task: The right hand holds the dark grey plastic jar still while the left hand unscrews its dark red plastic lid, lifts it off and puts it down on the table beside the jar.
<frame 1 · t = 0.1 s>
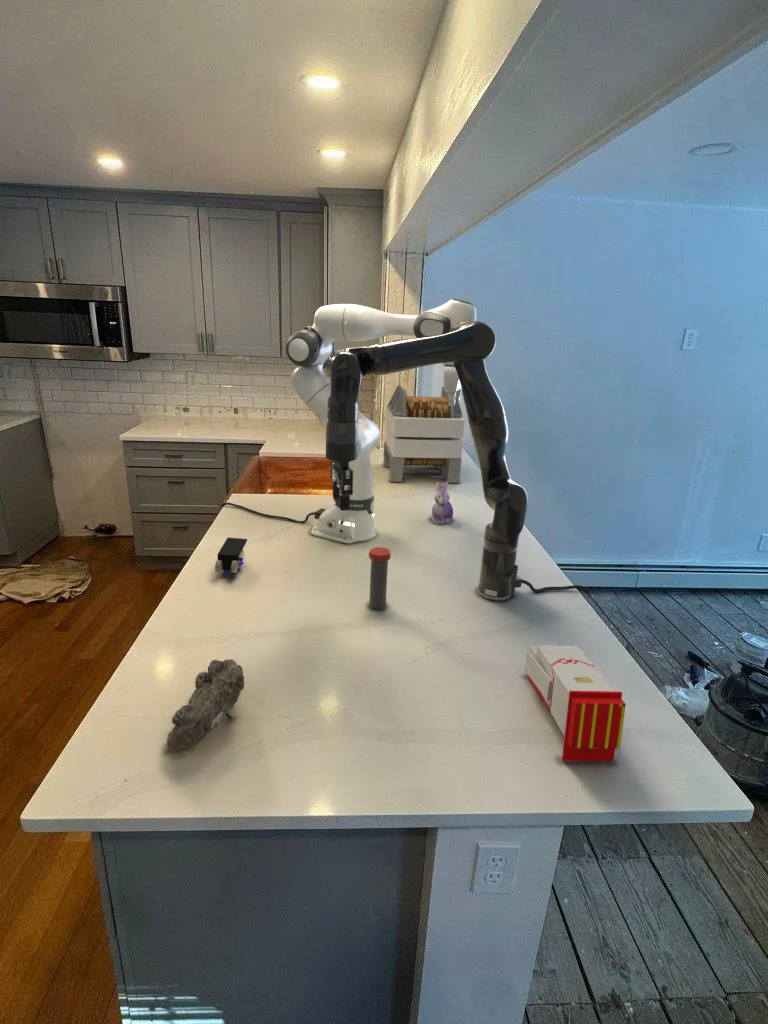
left hand: (454, 403, 174), 48 cm above the counter, tool pointing down, fingers open, 8 cm apart
right hand: (340, 504, 138), 29 cm above the counter, tool pointing down, fingers open, 8 cm apart
toy: (562, 711, 114), on the counter
jar: (377, 605, 151), on the counter
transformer: (419, 473, 275), on the counter
lid: (379, 552, 146), point 15 cm above the counter, screwed on, not yet turned
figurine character: (232, 569, 168), on the counter
figurine: (441, 520, 215), on the counter
fossil: (212, 717, 108), on the counter
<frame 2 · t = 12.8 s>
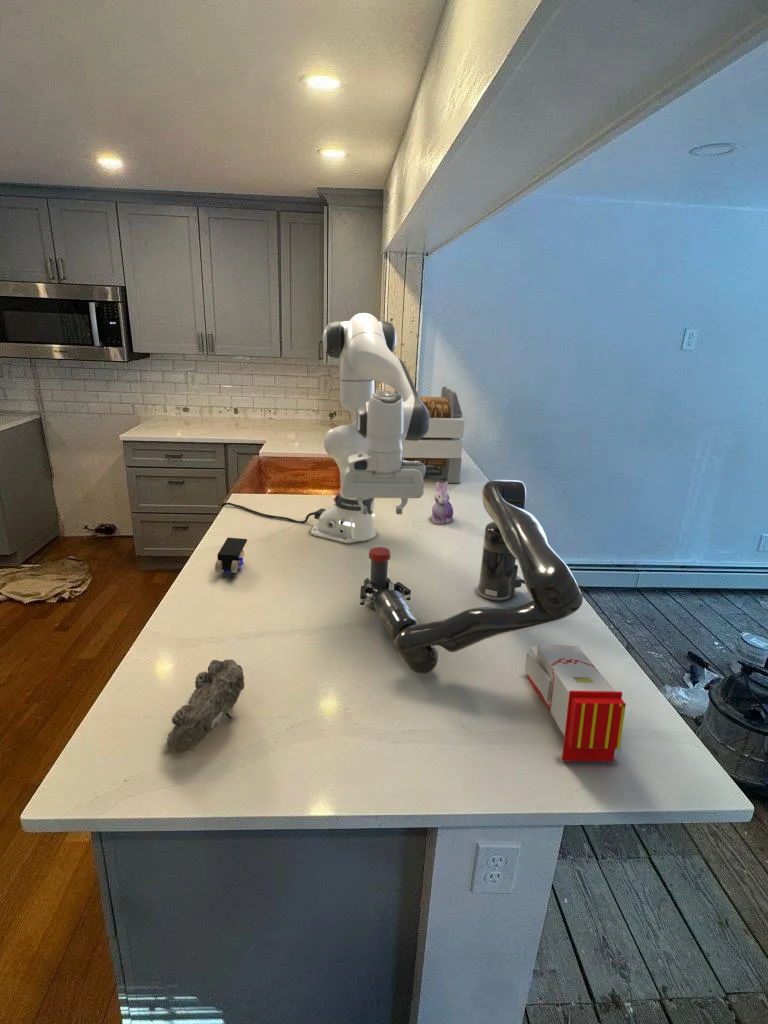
left hand: (381, 513, 142), 26 cm above the counter, tool pointing down, fingers open, 7 cm apart
right hand: (375, 580, 152), 6 cm above the counter, tool horizontal, fingers closed on jar, 4 cm apart
jar: (377, 605, 151), on the counter, touching right hand
everything else where it was.
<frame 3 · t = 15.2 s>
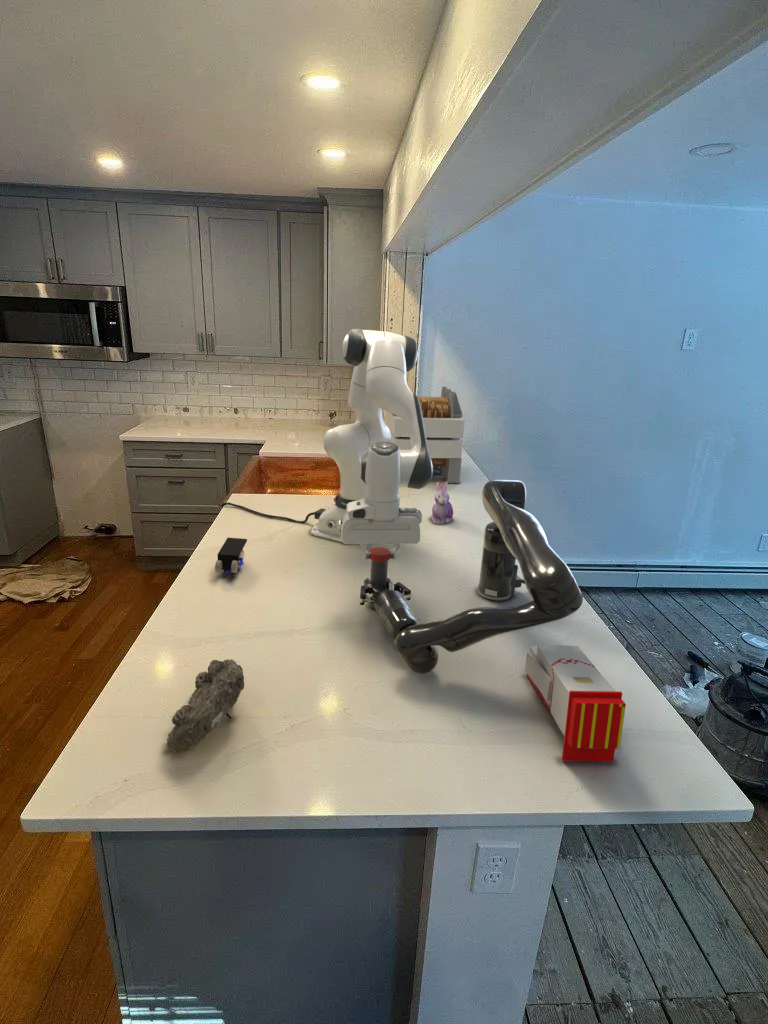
left hand: (379, 558, 147), 14 cm above the counter, tool pointing down, fingers closed on lid, 5 cm apart
right hand: (375, 580, 152), 6 cm above the counter, tool horizontal, fingers closed on jar, 4 cm apart
jar: (377, 605, 151), on the counter, touching right hand
lid: (379, 552, 146), point 15 cm above the counter, screwed on, not yet turned, touching left hand
everything else where it was.
when the left hand's fingers open (14 cm above the counter, at t = 16.4 s): lid stays where it is, point 16 cm above the counter.
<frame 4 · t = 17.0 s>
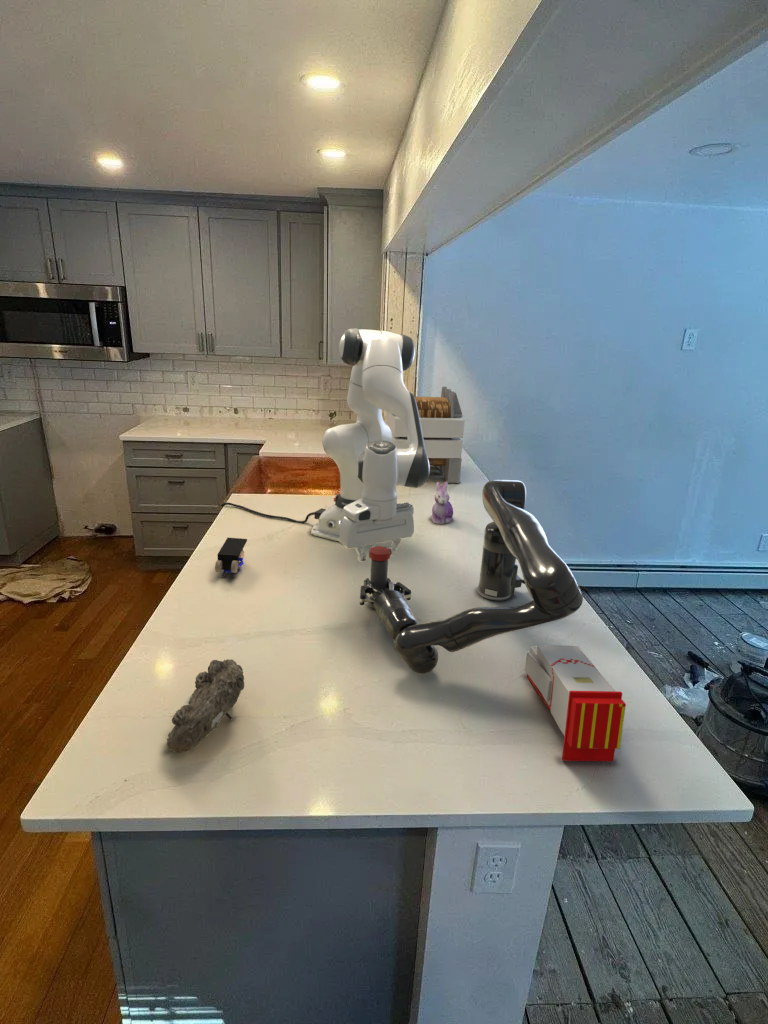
left hand: (376, 557, 146), 14 cm above the counter, tool pointing down, fingers open, 7 cm apart
right hand: (375, 580, 152), 6 cm above the counter, tool horizontal, fingers closed on jar, 4 cm apart
jar: (377, 605, 151), on the counter, touching right hand
lid: (379, 551, 146), point 16 cm above the counter, turned 75° so far, risen 0.3 cm, still on its thread
everything else where it was.
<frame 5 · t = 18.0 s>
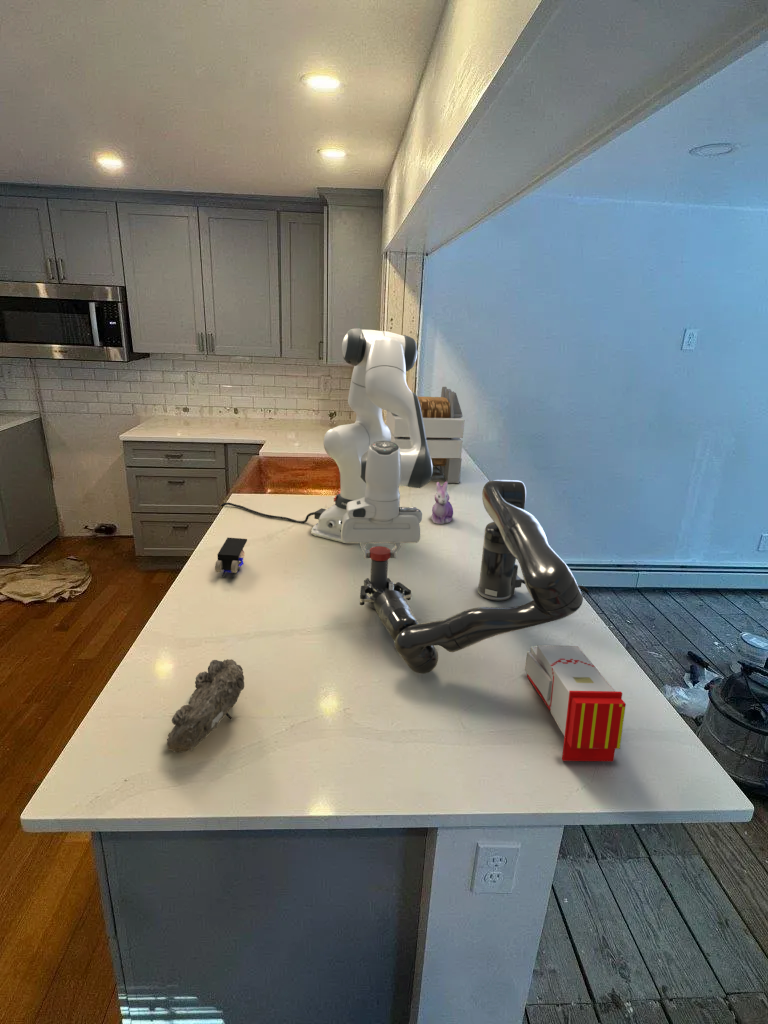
left hand: (379, 557, 146), 14 cm above the counter, tool pointing down, fingers closed on lid, 5 cm apart
right hand: (375, 580, 152), 6 cm above the counter, tool horizontal, fingers closed on jar, 4 cm apart
jar: (377, 605, 151), on the counter, touching right hand
lid: (379, 551, 146), point 16 cm above the counter, turned 75° so far, risen 0.3 cm, still on its thread, touching left hand
everything else where it was.
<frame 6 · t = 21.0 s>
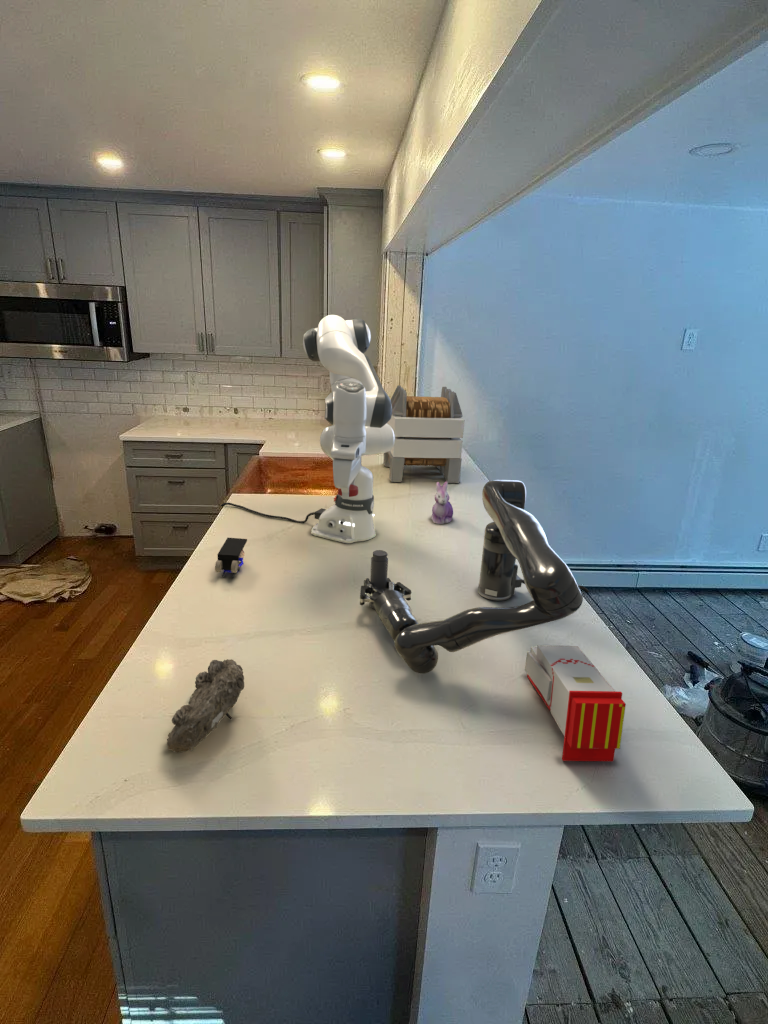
left hand: (348, 494, 155), 26 cm above the counter, tool pointing down, fingers closed on lid, 5 cm apart
right hand: (375, 580, 152), 6 cm above the counter, tool horizontal, fingers closed on jar, 4 cm apart
jar: (377, 605, 151), on the counter, touching right hand
lid: (348, 488, 155), point 28 cm above the counter, off its thread, touching left hand
everything else where it was.
when the left hand's fingers open (2 cm above the counter, at t = 24.3 s): lid drops 2 cm, point 1 cm above the counter.
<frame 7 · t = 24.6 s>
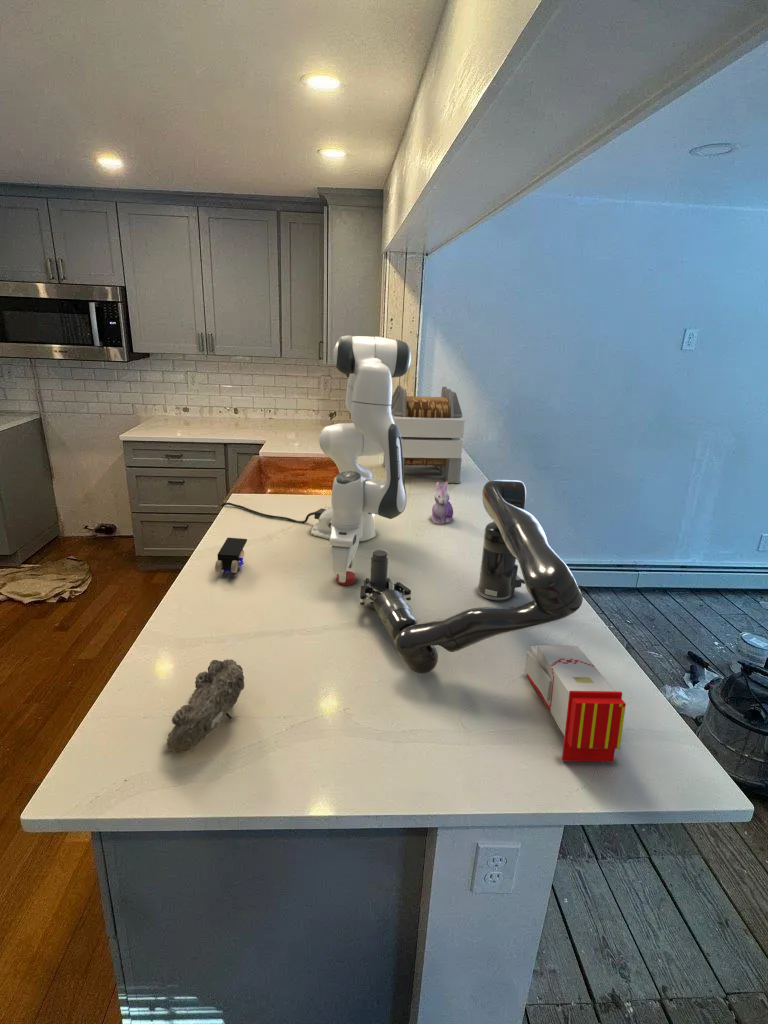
left hand: (345, 574, 163), 2 cm above the counter, tool pointing down, fingers open, 8 cm apart
right hand: (375, 580, 152), 6 cm above the counter, tool horizontal, fingers closed on jar, 4 cm apart
jar: (377, 605, 151), on the counter, touching right hand
lid: (346, 576, 164), point 1 cm above the counter, off its thread
everything else where it was.
when the right hand's fingers open (6 cm above the counter, at t = 25.3 s): jar stays where it is, on the counter.
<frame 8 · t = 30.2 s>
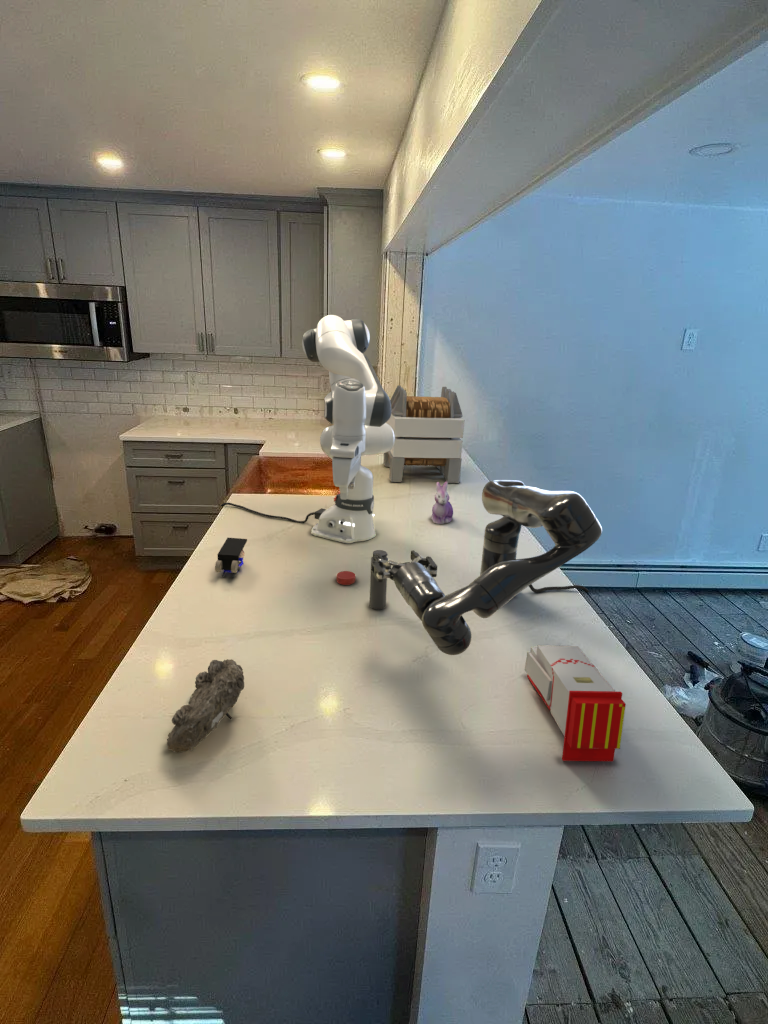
left hand: (347, 493, 155), 27 cm above the counter, tool pointing down, fingers open, 8 cm apart
right hand: (394, 555, 134), 20 cm above the counter, tool horizontal, fingers open, 8 cm apart
jar: (377, 605, 151), on the counter
everything else where it was.
at the end: lid came off its thread; lid point 1.5 cm above the counter; the left hand is holding nothing; the right hand is holding nothing; jar tilted 0°; jar moved 0.0 cm from its start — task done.
